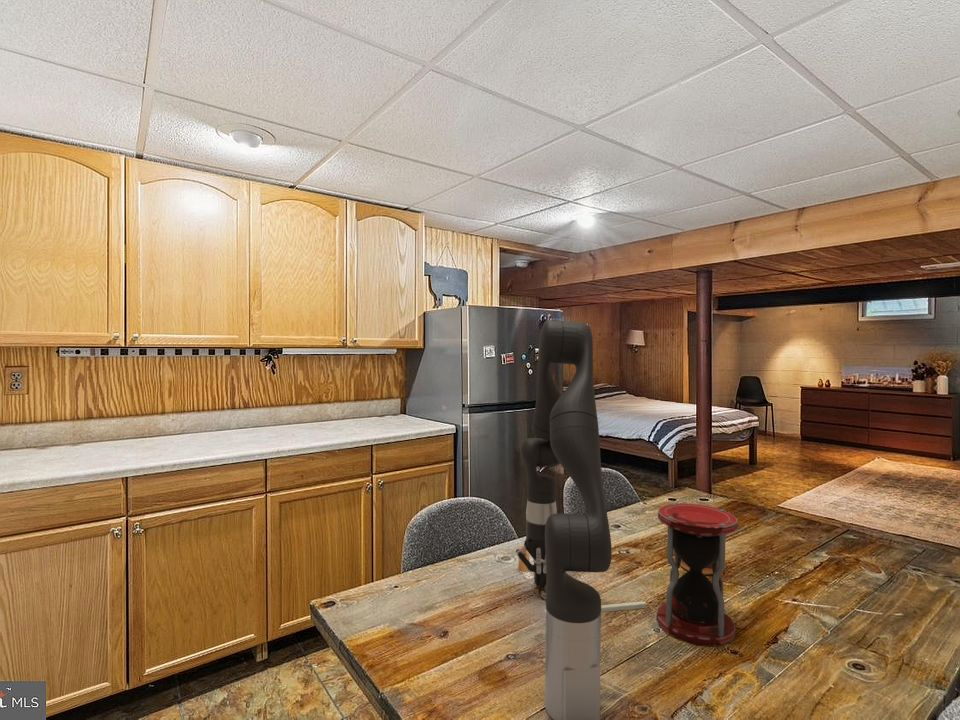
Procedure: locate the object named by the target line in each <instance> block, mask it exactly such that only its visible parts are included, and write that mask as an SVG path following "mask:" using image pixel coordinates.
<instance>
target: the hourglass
mask: <svg viewBox="0 0 960 720" xmlns="http://www.w3.org/2000/svg"><path fill="white" fill-rule="evenodd" d="M657 518H658V520H659V521H660V522H661V523H662V524H663V525H664V526H665V525H666V526H667V539H666V540H667V541H666V542H667V545H666V546H667V547H666V550H667V551H666V559H667V562H668V563H669V565H670V567H671V569H670V572H669V583H668V586H667V589H666V597H665V598H666V602H664V603H661V605H660V606H658V607H657V610H656V614H655V616H656V622H657V624H658V626H659V627H660V628H661V629H662V630H663V631H664V632H665V633H667V634H668V635H670V636H671V637H673V638H675V639H677V640H680V641H682V642H684V643H688V644H692V645H697V646H702V647H703V646H704V647H717V646H725V645H726V644H729V643H731V642H732V641H733V640H734V639H735V637H736V624H735V622H734V621H733V619H732V617H730V616H729V615H727V613H725V600H724V599H725V598H724V579H723V577H722V573H724V571H725V569H726V538H727V537H726V535H728V534H732V533H734V532H735V531H736V530H738V518H737V516H735V515H734V514H733V513H731V512H728V511H727V510H724V509H720V508H718V507H713V506H710V505H704V504H697V503H685V502H684V503H682V502H679V503H669V504H664V505H662V506H661V507H659V509H658V511H657ZM681 559H682V560H683V561H684V562H685V563H686V564H687V566H688V567H689V568H690V570H689V571H686V572H685V573H683V574H682V575H681V574H680V571H679V569H680V567H681ZM711 563H712V570H713V574H712V577H711V580H710V579H709V578H708V577H707V576H706V575H704V574H703V573H702V569H704V568H705V567H707V566H708V565H710V564H711ZM680 575H681V576H680Z"/></svg>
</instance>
